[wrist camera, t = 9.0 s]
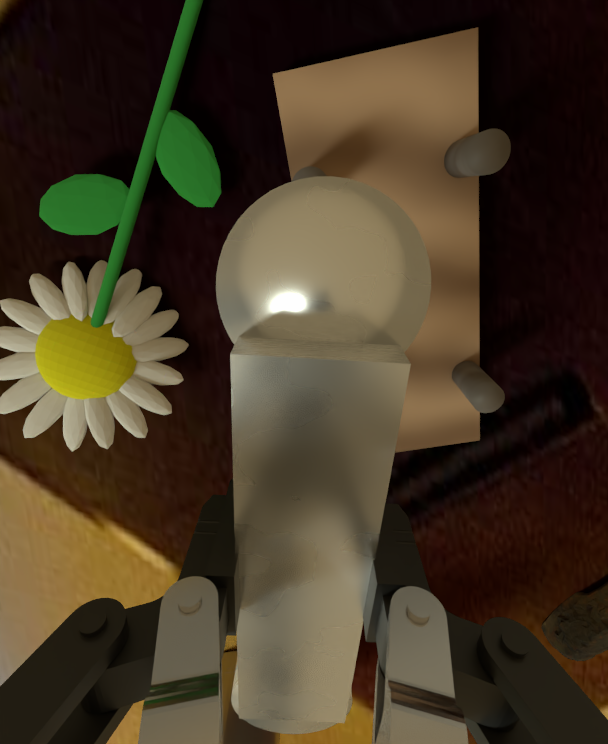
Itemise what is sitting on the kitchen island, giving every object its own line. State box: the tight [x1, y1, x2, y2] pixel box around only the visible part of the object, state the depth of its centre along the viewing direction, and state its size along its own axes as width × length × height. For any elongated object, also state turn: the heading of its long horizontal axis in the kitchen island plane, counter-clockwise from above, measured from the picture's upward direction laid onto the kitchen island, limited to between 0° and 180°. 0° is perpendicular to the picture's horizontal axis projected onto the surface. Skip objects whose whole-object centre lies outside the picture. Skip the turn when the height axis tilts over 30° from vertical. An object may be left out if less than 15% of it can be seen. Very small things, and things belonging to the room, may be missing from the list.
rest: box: [273, 27, 511, 452], centre depth 25 cm, size 26×11×6 cm, turn 10°
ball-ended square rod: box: [216, 176, 431, 734], centre depth 12 cm, size 4×19×4 cm, turn 177°
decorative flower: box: [0, 0, 221, 452], centre depth 25 cm, size 13×5×30 cm
